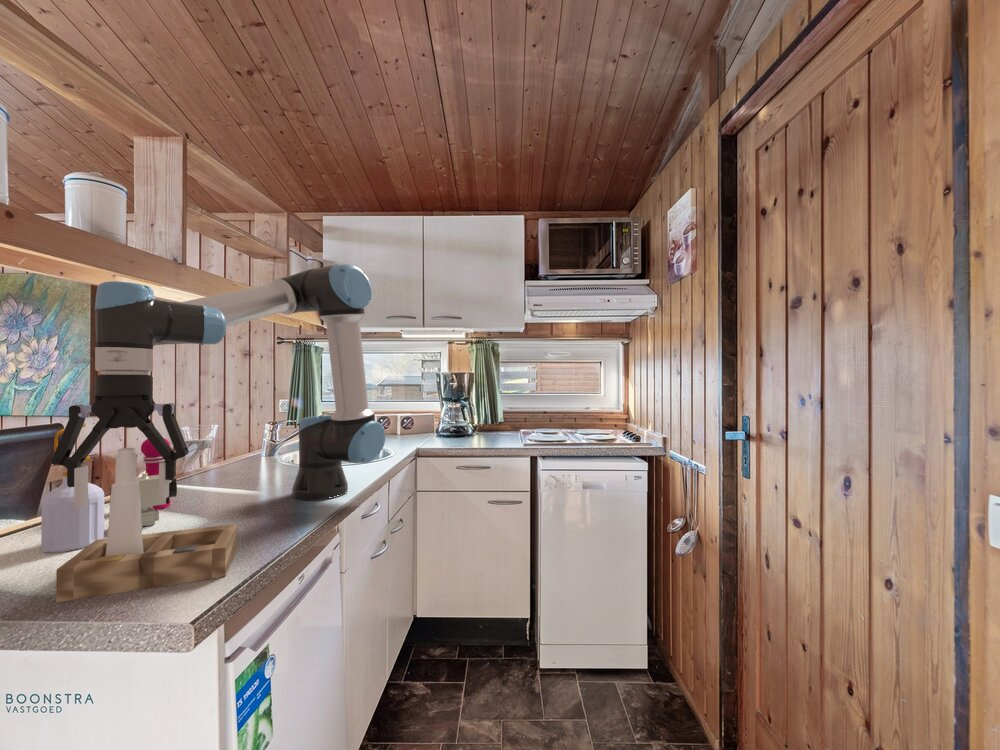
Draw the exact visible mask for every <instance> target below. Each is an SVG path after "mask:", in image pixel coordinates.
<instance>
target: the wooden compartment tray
mask: <svg viewBox="0 0 1000 750" xmlns="http://www.w3.org/2000/svg"><path fill="white" fill-rule="evenodd" d="M238 536H239V534H238V523H233V524H232V523H231V524H222V525H215V526H205V527H197V528H188V529H180V530H171V531H163V532H153V533H152V532H151V533H147V534H146V533H145V534H143V533H142V542H143V551H144V553H140V554H133V555H125V554H122V555H114V556H107V557H105V555H106V547H107V538H103V539H99V540H95V541H94V542H92V543H91V544H90V545H88V546H87V547H85V548H82V549H81V550H80V551H79V552H78V553H76V554H75V555H74V556H72V557H71V558H70V559H69V560H67V561H66V562H65V563H63V564H62V565H61V566H59V567H58V568H56V572H55V573H56V574H55V575H56V587H55V590H56V593H55V594H56V595H55V598H56V599H55V601H56V603H61V602H68V601H74V600H82V599H87V598H95V597H100V596H106V595H114V594H120V593H127V592H134V591H140V590H146V589H153V588H159V587H164V586H166V587H167V586H172V585H177V584H184V583H185V584H186V583H191V582H196V581H197V582H198V581H203V580H204V581H205V580H211V579H210V578H212V579H217V578H216V577H218V578H223V577H222V576H224V577H226V575H227V574H228V572H227V571H229V569H230V567H229V566H231V565H230V564H232V563H233V561H234V558H233V557H235V556H236V553H237V551H238ZM236 550H237V551H236ZM226 573H227V574H226Z"/></svg>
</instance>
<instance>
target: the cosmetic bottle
mask: <svg viewBox="0 0 1000 750" xmlns="http://www.w3.org/2000/svg"><path fill="white" fill-rule="evenodd" d="M135 451H136V448H134V447H124V448H122V447H121V448H119V449H117V453H118V454H116V456H115V468H114V469H115V471H114V472H115V475H114V476H115V477H114V480H115V481H114V483H113V484H111V486H112V489H111V499H110V498H109V514H108V515H109V516H108V526H107V538H106V539H107V547H106V555H105V557H107V556H114V555H122V554H125V555H133V554H140V553H144V551H143V542H142V535H143V531H142V530H143V529H142V528H143V527H142V525H141V500H140V483H139V481H136V477H138V475H137V471H138V469H137V468H138V467H137V463H138V462H137V461H138V455H137V453H135Z"/></svg>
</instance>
